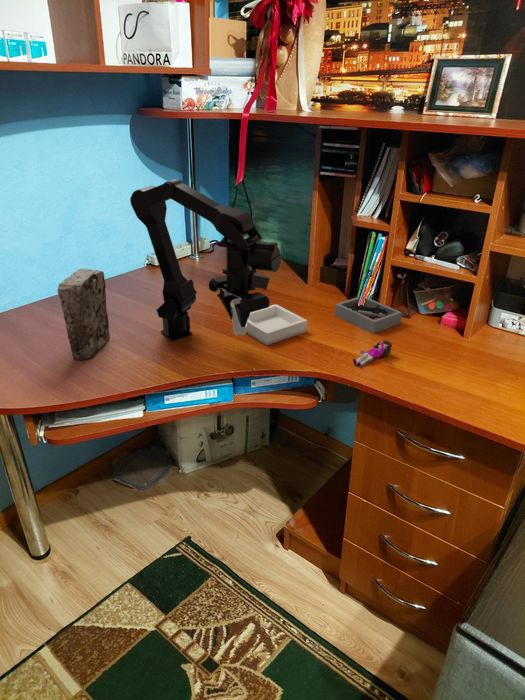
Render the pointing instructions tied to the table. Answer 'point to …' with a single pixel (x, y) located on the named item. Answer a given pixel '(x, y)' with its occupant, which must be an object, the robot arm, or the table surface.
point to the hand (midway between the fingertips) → (238, 323)
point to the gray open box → (365, 322)
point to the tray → (275, 324)
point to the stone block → (85, 312)
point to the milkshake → (236, 325)
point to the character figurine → (374, 353)
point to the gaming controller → (369, 311)
